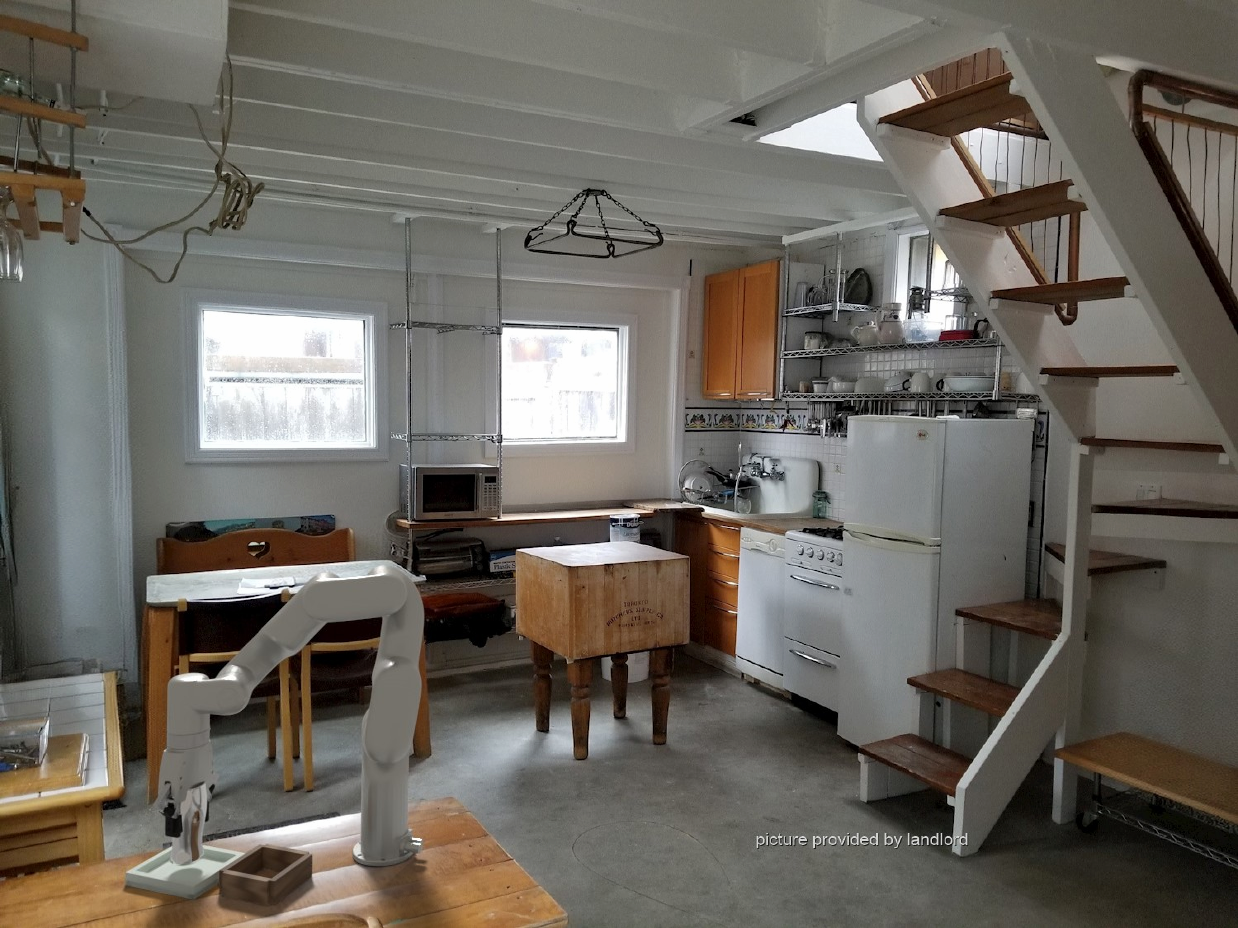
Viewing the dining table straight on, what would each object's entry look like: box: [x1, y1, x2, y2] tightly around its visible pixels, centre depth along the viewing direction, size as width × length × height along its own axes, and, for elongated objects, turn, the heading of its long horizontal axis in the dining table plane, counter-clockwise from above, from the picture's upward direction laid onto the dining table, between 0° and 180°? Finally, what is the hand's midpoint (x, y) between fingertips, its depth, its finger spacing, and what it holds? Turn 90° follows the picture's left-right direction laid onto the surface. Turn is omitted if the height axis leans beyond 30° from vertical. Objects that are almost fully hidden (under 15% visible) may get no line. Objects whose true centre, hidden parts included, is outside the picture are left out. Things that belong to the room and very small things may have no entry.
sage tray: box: [124, 844, 246, 901], centre depth 174 cm, size 16×14×2 cm
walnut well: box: [218, 843, 313, 906], centre depth 171 cm, size 12×12×4 cm
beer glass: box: [170, 781, 207, 866], centre depth 173 cm, size 7×7×15 cm
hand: (187, 827), depth 173 cm, fingers closed on beer glass, 6 cm apart
